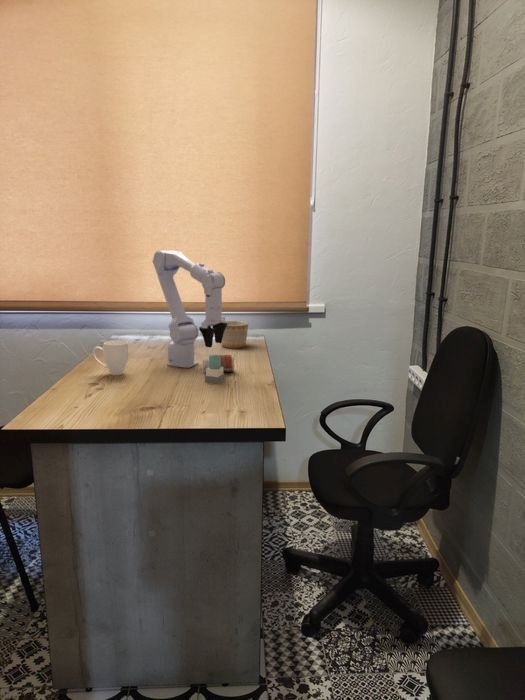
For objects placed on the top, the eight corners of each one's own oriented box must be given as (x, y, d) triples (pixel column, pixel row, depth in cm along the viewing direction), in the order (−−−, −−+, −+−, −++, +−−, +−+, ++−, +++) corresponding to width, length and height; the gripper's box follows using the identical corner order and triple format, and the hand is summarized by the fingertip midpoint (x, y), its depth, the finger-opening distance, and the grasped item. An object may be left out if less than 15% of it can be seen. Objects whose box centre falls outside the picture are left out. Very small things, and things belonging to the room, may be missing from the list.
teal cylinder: (206, 368, 171) (206, 356, 170) (212, 365, 175) (212, 354, 174) (217, 369, 169) (216, 358, 168) (222, 366, 173) (222, 355, 172)
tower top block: (206, 375, 171) (206, 368, 171) (211, 372, 175) (211, 365, 175) (217, 377, 170) (217, 370, 169) (223, 374, 174) (223, 367, 173)
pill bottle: (232, 351, 185) (202, 351, 183) (234, 362, 180) (204, 363, 178) (231, 363, 189) (202, 364, 187) (233, 375, 184) (203, 375, 182)
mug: (130, 370, 184) (129, 339, 181) (127, 376, 176) (126, 344, 173) (96, 370, 182) (94, 340, 179) (92, 377, 174) (90, 345, 171)
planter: (214, 346, 224) (213, 323, 222) (231, 341, 234) (231, 319, 232) (236, 350, 217) (236, 327, 215) (253, 345, 228) (253, 323, 225)
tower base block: (204, 382, 172) (204, 375, 171) (211, 378, 176) (211, 371, 176) (218, 384, 170) (218, 377, 169) (224, 380, 175) (224, 373, 174)
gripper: (214, 310, 169) (214, 350, 172) (232, 305, 182) (232, 342, 185) (195, 309, 172) (196, 348, 175) (215, 304, 185) (215, 340, 188)
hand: (213, 344), depth 180 cm, fingers open, 7 cm apart
